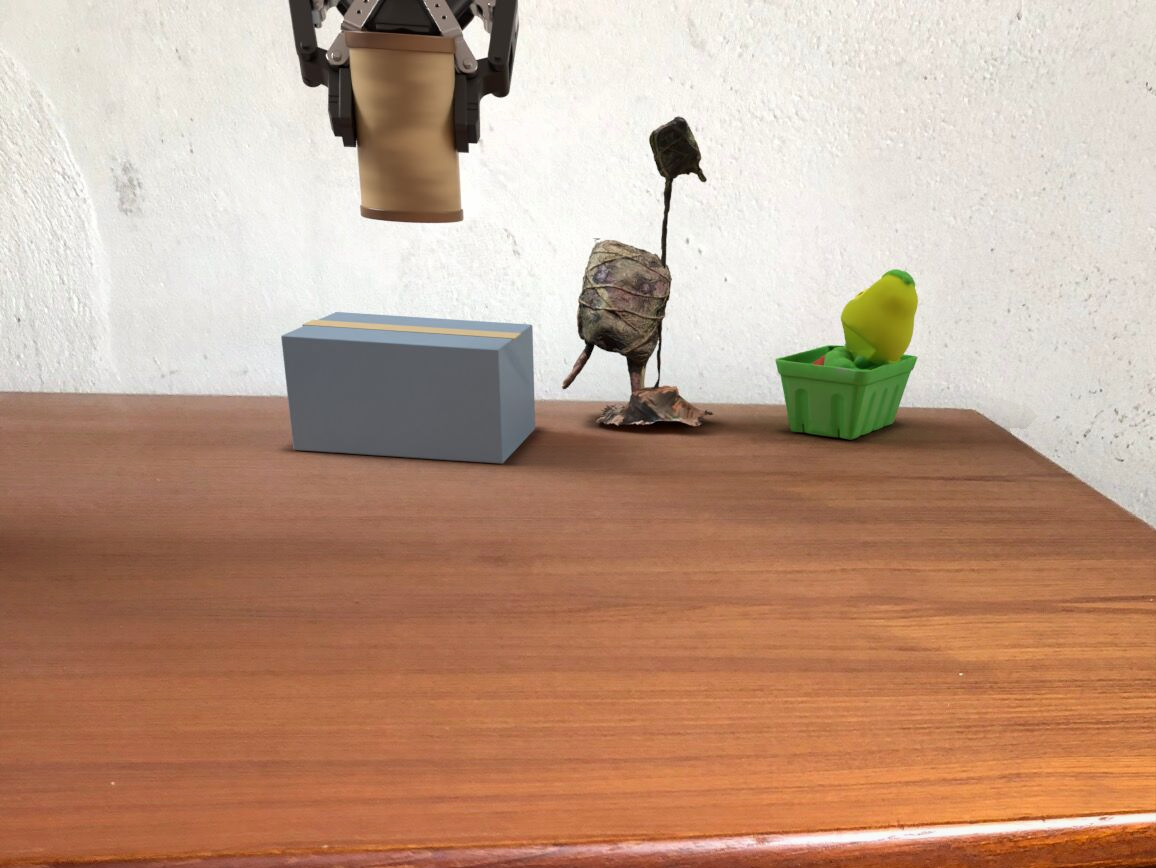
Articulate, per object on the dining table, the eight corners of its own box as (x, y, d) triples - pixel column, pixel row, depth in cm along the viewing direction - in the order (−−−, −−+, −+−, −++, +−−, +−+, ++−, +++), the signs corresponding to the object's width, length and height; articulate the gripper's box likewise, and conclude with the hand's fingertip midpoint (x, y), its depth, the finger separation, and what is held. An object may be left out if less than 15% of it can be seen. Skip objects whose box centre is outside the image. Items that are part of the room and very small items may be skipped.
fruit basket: (826, 410, 122) (836, 255, 116) (928, 425, 119) (945, 266, 113) (767, 432, 113) (775, 265, 107) (876, 448, 110) (891, 278, 104)
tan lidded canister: (346, 218, 90) (330, 29, 85) (375, 210, 96) (361, 32, 90) (452, 225, 90) (442, 36, 85) (475, 217, 95) (467, 38, 90)
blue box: (291, 450, 100) (278, 334, 96) (343, 416, 110) (333, 310, 106) (504, 464, 99) (500, 348, 96) (536, 429, 110) (534, 323, 106)
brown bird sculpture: (592, 406, 118) (589, 109, 108) (727, 422, 116) (738, 119, 105) (547, 423, 112) (540, 108, 101) (690, 440, 109) (697, 119, 99)
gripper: (524, -30, 97) (529, 193, 94) (295, -46, 95) (291, 181, 92) (520, -143, 90) (525, 95, 86) (272, -162, 88) (266, 80, 84)
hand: (404, 138), depth 89 cm, fingers closed on tan lidded canister, 6 cm apart
